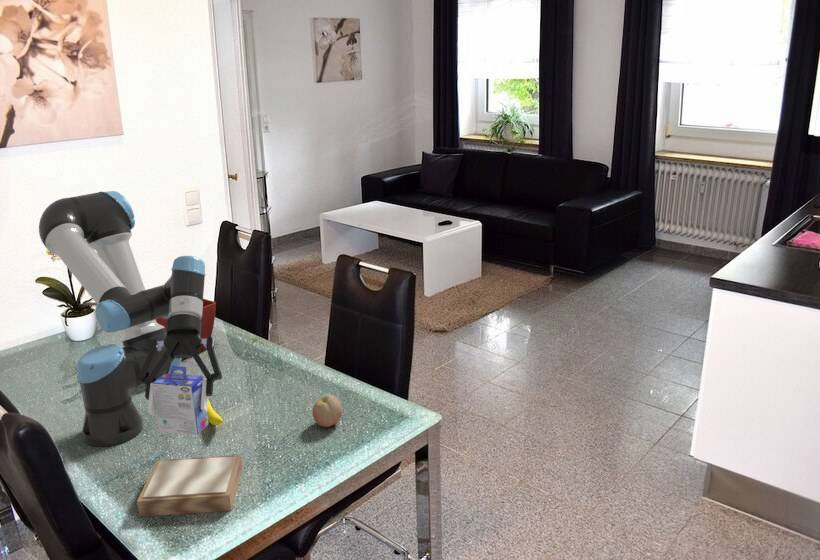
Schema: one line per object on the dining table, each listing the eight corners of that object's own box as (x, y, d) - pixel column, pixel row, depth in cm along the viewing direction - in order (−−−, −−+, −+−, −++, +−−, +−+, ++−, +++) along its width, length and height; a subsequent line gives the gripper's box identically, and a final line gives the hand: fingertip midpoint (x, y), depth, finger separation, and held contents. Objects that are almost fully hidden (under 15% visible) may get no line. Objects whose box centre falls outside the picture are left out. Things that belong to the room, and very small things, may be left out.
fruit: (310, 420, 190) (307, 394, 188) (337, 414, 193) (336, 388, 191) (318, 434, 183) (316, 407, 181) (347, 427, 186) (345, 401, 184)
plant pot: (188, 336, 250) (181, 292, 245) (223, 347, 239) (217, 301, 234) (141, 355, 236) (133, 308, 230) (176, 368, 225) (169, 320, 219)
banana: (218, 438, 183) (215, 417, 181) (197, 409, 198) (194, 389, 196) (228, 435, 184) (226, 414, 182) (207, 406, 200) (204, 387, 198)
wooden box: (139, 516, 153) (136, 500, 152) (159, 474, 168) (156, 459, 167) (231, 510, 154) (229, 494, 153) (242, 469, 169) (240, 453, 168)
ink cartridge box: (210, 423, 157) (202, 365, 153) (198, 436, 152) (190, 376, 148) (170, 420, 159) (161, 362, 155) (157, 432, 154) (148, 373, 149)
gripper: (128, 315, 157) (117, 410, 147) (232, 309, 158) (227, 403, 149) (139, 327, 164) (129, 419, 154) (238, 322, 165) (234, 413, 155)
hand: (177, 412), depth 151 cm, fingers closed on ink cartridge box, 11 cm apart
